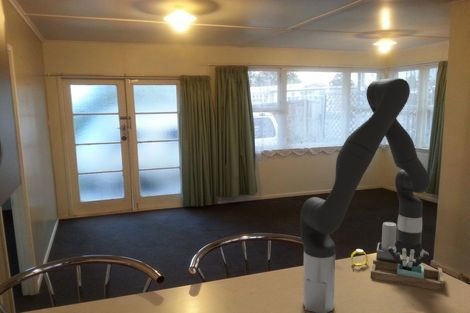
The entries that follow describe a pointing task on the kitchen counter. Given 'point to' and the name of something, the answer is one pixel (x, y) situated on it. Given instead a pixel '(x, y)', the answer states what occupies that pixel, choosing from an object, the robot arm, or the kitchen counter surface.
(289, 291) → the kitchen counter surface
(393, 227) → the beverage can
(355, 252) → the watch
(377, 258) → the open metal box
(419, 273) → the box
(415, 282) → the bay
